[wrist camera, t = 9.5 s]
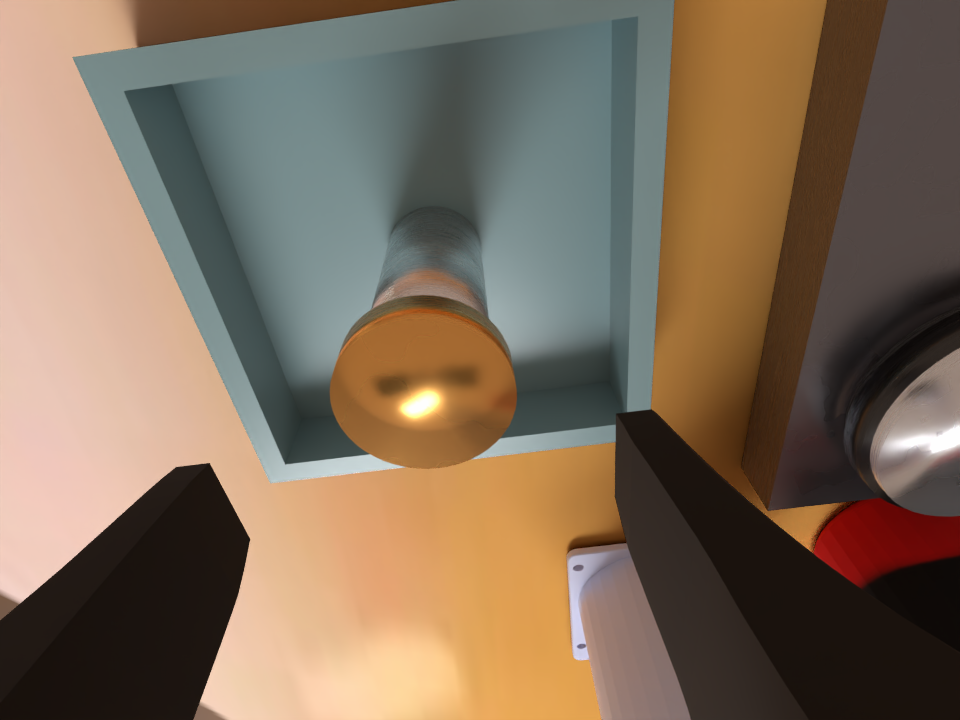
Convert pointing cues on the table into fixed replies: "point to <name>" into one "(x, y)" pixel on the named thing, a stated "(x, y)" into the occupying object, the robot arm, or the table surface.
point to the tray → (408, 198)
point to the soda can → (900, 562)
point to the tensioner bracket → (869, 274)
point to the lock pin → (426, 352)
